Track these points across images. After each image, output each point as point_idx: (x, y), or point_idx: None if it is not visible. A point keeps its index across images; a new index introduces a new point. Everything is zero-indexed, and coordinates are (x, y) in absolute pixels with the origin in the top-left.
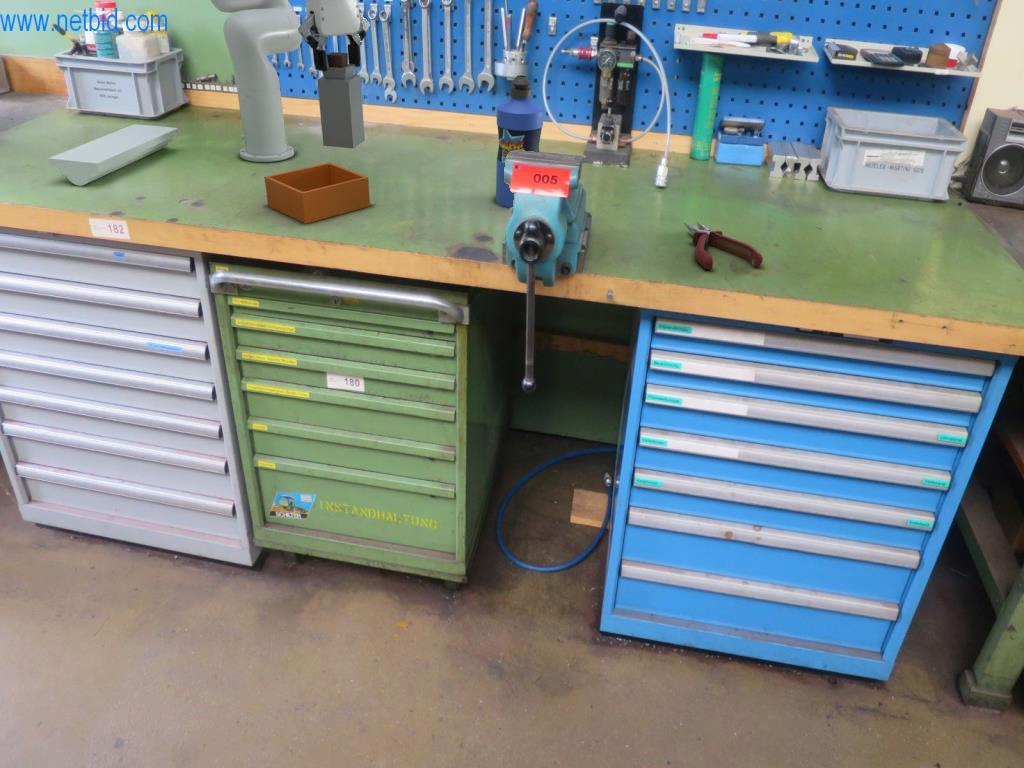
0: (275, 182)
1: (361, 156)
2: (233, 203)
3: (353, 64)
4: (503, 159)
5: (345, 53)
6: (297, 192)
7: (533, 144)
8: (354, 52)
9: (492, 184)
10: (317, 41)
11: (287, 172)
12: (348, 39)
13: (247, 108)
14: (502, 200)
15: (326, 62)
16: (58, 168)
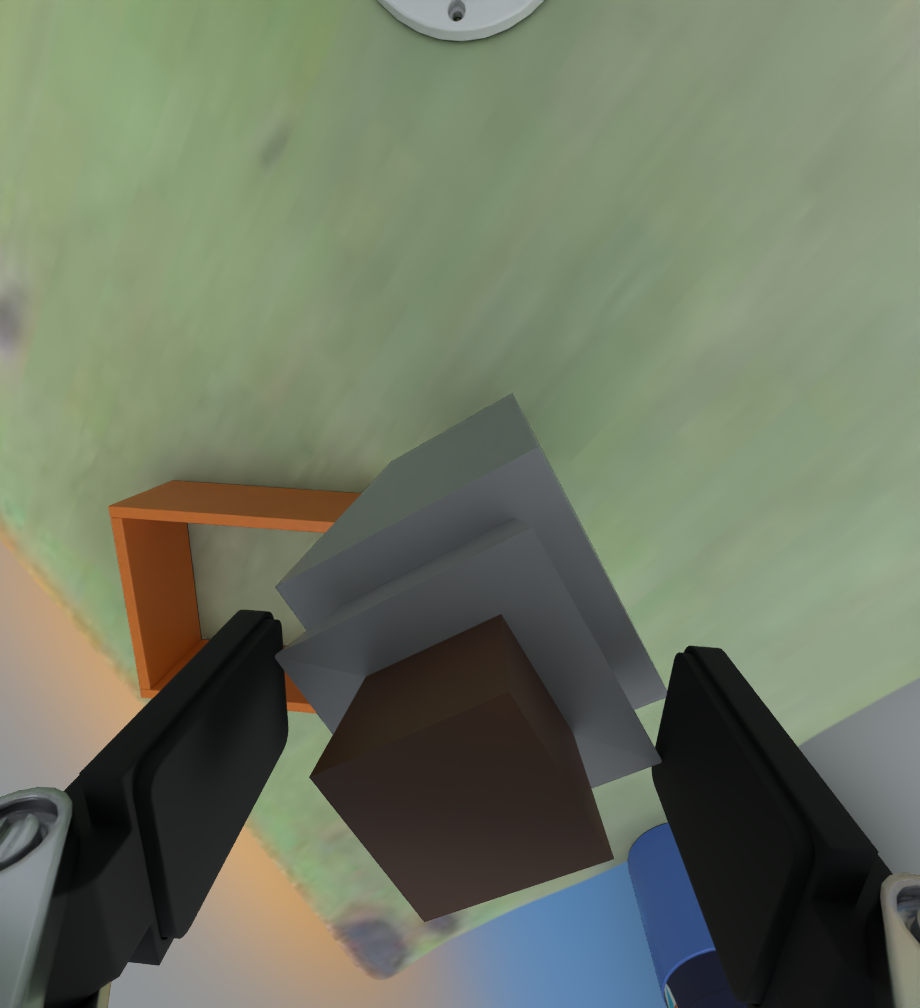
0: (120, 569)
1: (743, 239)
2: (98, 389)
3: (641, 754)
4: (669, 996)
5: (575, 854)
6: (139, 675)
7: None
8: (710, 890)
9: None
10: (36, 959)
11: (191, 520)
12: (881, 992)
13: None
14: (632, 869)
15: (254, 803)
16: None
